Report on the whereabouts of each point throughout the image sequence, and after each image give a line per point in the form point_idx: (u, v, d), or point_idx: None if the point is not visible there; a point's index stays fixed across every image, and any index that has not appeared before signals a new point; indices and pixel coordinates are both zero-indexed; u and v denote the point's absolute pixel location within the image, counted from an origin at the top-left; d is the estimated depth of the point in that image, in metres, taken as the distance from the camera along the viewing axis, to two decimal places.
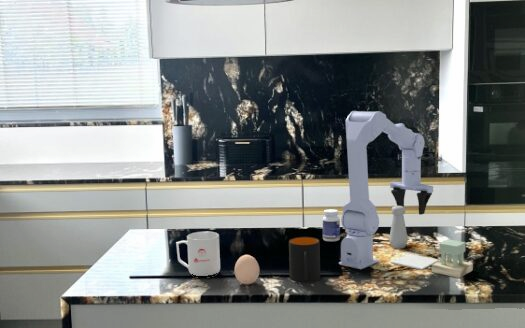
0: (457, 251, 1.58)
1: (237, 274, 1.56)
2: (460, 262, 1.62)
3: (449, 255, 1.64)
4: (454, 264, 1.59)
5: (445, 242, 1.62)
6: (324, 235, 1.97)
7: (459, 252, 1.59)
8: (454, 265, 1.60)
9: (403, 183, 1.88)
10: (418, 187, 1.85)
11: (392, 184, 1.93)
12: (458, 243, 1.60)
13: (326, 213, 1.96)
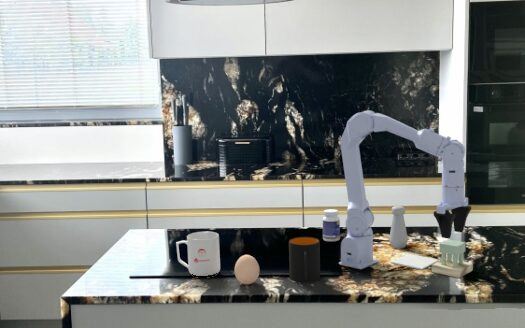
0: (457, 251, 1.58)
1: (237, 274, 1.56)
2: (460, 262, 1.62)
3: (449, 255, 1.64)
4: (454, 264, 1.59)
5: (445, 242, 1.62)
6: (324, 235, 1.97)
7: (459, 252, 1.59)
8: (454, 265, 1.60)
9: None
10: None
11: None
12: (458, 243, 1.60)
13: (326, 213, 1.96)
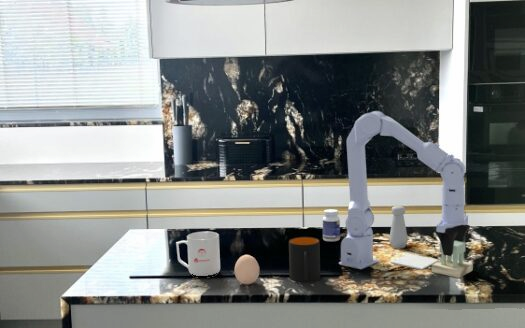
0: (457, 251, 1.58)
1: (237, 274, 1.56)
2: (460, 262, 1.62)
3: None
4: (454, 264, 1.59)
5: None
6: (324, 235, 1.97)
7: (459, 252, 1.59)
8: (454, 265, 1.60)
9: None
10: (439, 223, 1.59)
11: None
12: (458, 243, 1.60)
13: (326, 213, 1.96)
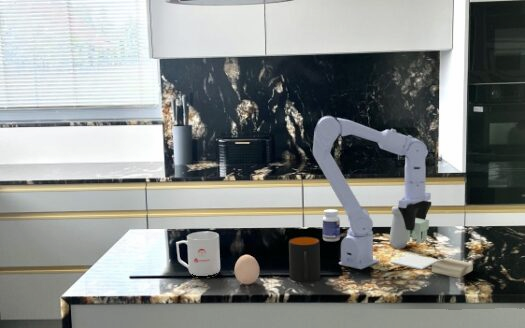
0: (420, 228, 1.66)
1: (237, 274, 1.56)
2: (423, 239, 1.70)
3: (414, 232, 1.72)
4: (417, 240, 1.68)
5: None
6: (324, 235, 1.97)
7: (422, 229, 1.67)
8: (417, 241, 1.68)
9: None
10: None
11: None
12: (421, 221, 1.68)
13: (326, 213, 1.96)
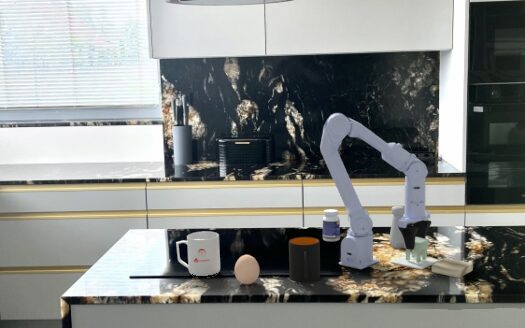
0: (420, 247, 1.67)
1: (237, 274, 1.56)
2: (423, 258, 1.71)
3: (413, 251, 1.73)
4: (417, 260, 1.68)
5: None
6: (324, 235, 1.97)
7: (422, 248, 1.68)
8: (417, 261, 1.68)
9: None
10: None
11: None
12: (421, 240, 1.69)
13: (326, 213, 1.96)
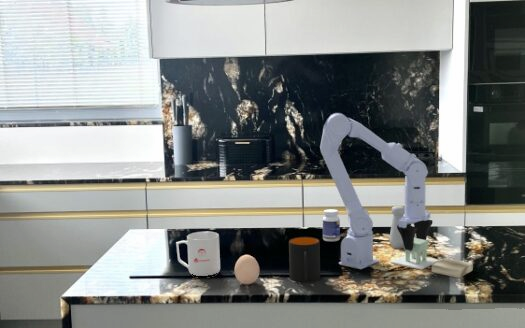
0: (420, 249, 1.67)
1: (237, 274, 1.56)
2: (423, 259, 1.71)
3: (413, 252, 1.73)
4: (417, 261, 1.68)
5: None
6: (324, 235, 1.97)
7: (422, 249, 1.68)
8: (417, 262, 1.68)
9: None
10: None
11: None
12: (421, 241, 1.69)
13: (326, 213, 1.96)
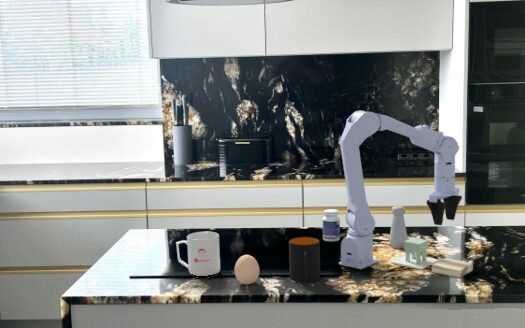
0: (420, 248, 1.67)
1: (237, 274, 1.56)
2: (423, 259, 1.71)
3: (413, 252, 1.73)
4: (417, 261, 1.68)
5: (409, 240, 1.71)
6: (324, 235, 1.97)
7: (422, 249, 1.68)
8: (417, 262, 1.68)
9: None
10: None
11: None
12: (421, 241, 1.69)
13: (326, 213, 1.96)
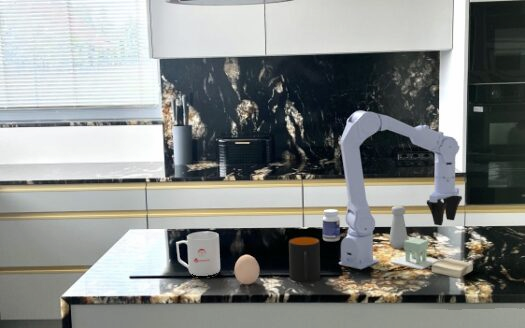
0: (420, 248, 1.67)
1: (237, 274, 1.56)
2: (423, 259, 1.71)
3: (413, 252, 1.73)
4: (417, 261, 1.68)
5: (409, 240, 1.71)
6: (324, 235, 1.97)
7: (422, 249, 1.68)
8: (417, 262, 1.68)
9: None
10: None
11: None
12: (421, 241, 1.69)
13: (326, 213, 1.96)
